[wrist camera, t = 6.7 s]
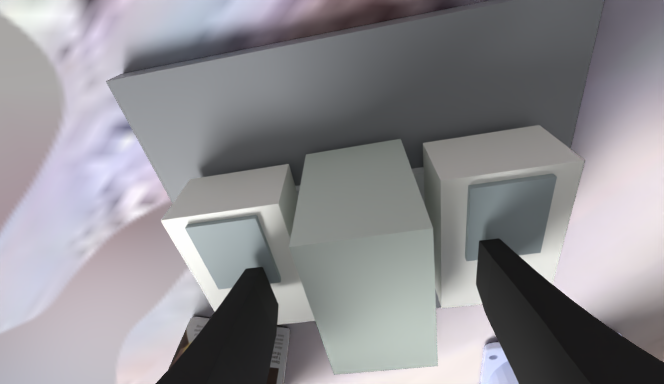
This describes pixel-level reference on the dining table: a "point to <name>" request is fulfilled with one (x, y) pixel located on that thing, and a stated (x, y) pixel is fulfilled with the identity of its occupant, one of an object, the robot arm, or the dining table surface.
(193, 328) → the coffee box
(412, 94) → the board
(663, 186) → the dining table surface
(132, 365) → the dining table surface
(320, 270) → the block
